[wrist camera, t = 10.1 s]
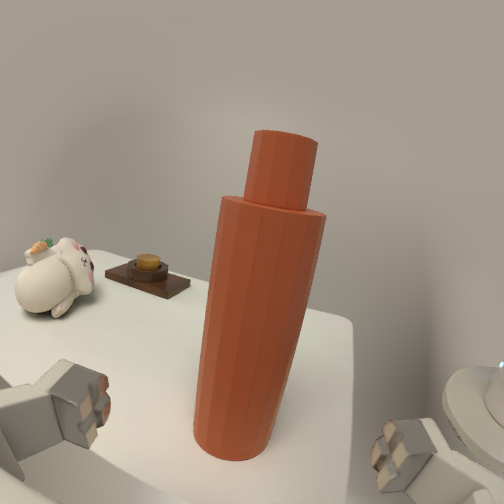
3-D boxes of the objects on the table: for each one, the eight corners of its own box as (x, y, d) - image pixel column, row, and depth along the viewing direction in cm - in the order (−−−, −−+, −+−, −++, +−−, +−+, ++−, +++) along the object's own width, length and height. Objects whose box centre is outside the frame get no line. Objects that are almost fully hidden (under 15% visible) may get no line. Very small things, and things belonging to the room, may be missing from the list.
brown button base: (190, 286, 53) (191, 269, 52) (167, 299, 46) (169, 280, 45) (130, 267, 56) (131, 252, 56) (104, 277, 49) (105, 260, 48)
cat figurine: (16, 249, 26) (89, 216, 40) (-11, 270, 28) (57, 236, 42) (56, 326, 29) (117, 275, 43) (24, 337, 31) (83, 289, 45)
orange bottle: (268, 416, 25) (327, 152, 20) (267, 466, 19) (349, 141, 14) (201, 404, 25) (239, 136, 20) (186, 452, 19) (228, 119, 14)
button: (163, 267, 52) (164, 257, 52) (150, 273, 48) (151, 262, 48) (145, 262, 53) (145, 252, 52) (131, 267, 49) (132, 256, 49)
